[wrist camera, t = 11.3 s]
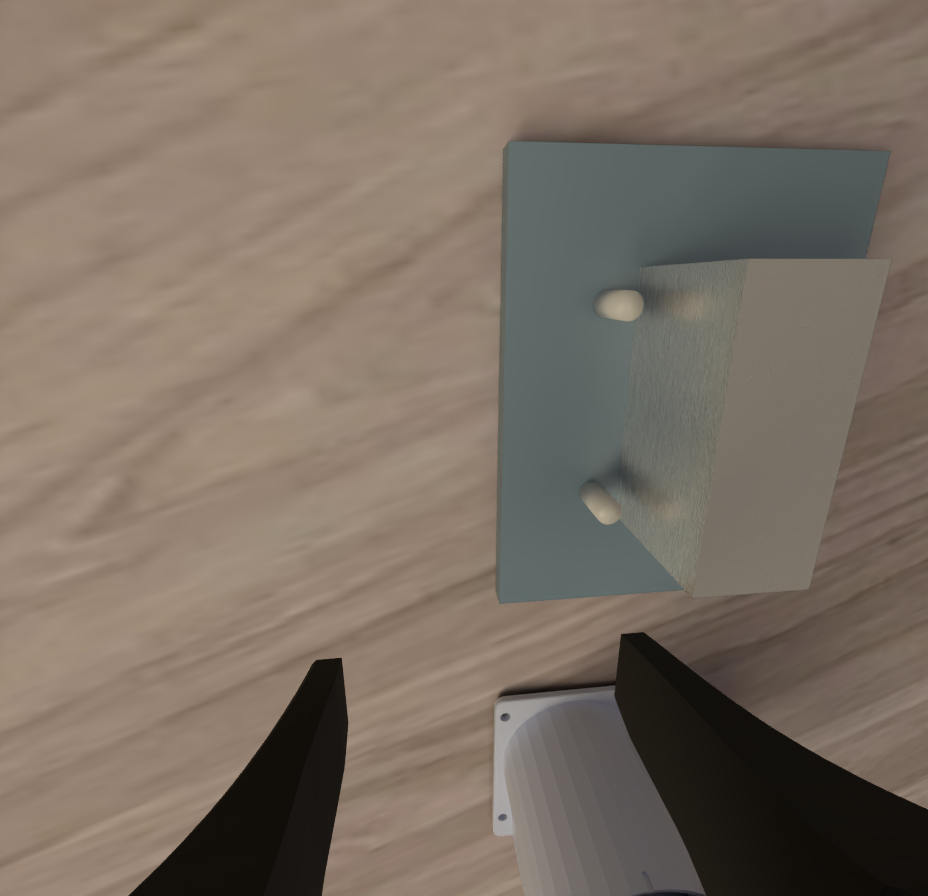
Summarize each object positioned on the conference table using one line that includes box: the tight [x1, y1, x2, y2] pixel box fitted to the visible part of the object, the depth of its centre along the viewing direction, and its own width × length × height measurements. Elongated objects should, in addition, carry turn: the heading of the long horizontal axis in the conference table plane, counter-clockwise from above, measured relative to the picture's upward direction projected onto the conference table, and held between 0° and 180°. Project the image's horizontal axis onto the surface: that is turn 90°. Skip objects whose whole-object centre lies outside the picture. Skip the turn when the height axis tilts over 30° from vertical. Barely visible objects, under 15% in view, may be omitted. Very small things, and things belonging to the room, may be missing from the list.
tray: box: [496, 141, 890, 604], centre depth 19 cm, size 18×14×3 cm
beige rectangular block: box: [617, 259, 892, 598], centre depth 17 cm, size 10×4×6 cm, turn 0°
